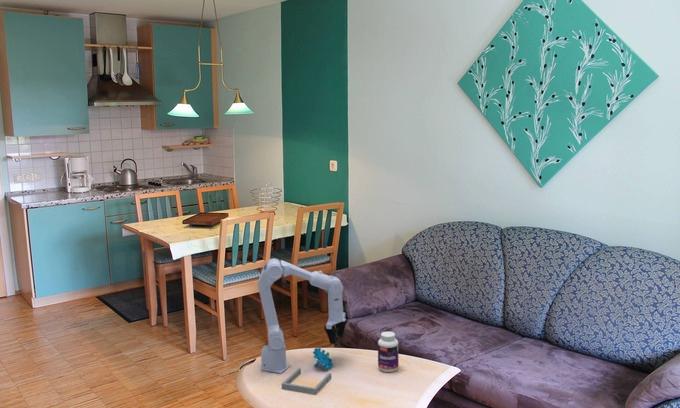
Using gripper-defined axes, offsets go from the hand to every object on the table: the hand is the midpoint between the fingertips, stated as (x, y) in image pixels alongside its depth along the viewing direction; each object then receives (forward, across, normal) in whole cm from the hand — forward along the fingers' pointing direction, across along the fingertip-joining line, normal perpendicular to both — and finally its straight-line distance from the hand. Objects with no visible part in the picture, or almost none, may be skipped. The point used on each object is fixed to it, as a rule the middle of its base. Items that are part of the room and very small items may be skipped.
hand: (336, 340), depth 240 cm
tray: (+10, -20, +3) cm, 22 cm away
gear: (+10, -5, +4) cm, 12 cm away
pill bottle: (+10, +2, -21) cm, 24 cm away
